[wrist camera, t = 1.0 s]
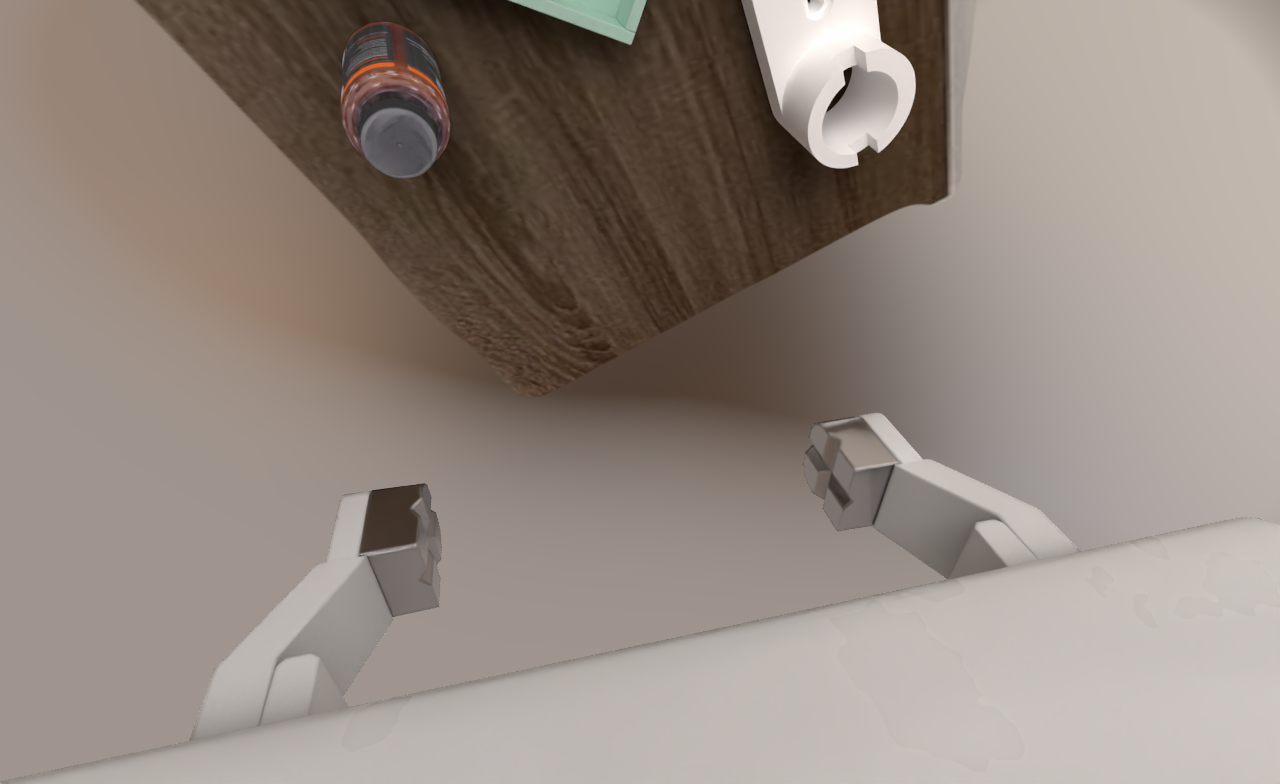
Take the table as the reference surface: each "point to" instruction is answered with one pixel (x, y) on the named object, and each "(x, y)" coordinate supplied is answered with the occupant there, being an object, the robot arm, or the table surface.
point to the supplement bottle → (393, 100)
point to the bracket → (831, 75)
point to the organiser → (594, 15)
